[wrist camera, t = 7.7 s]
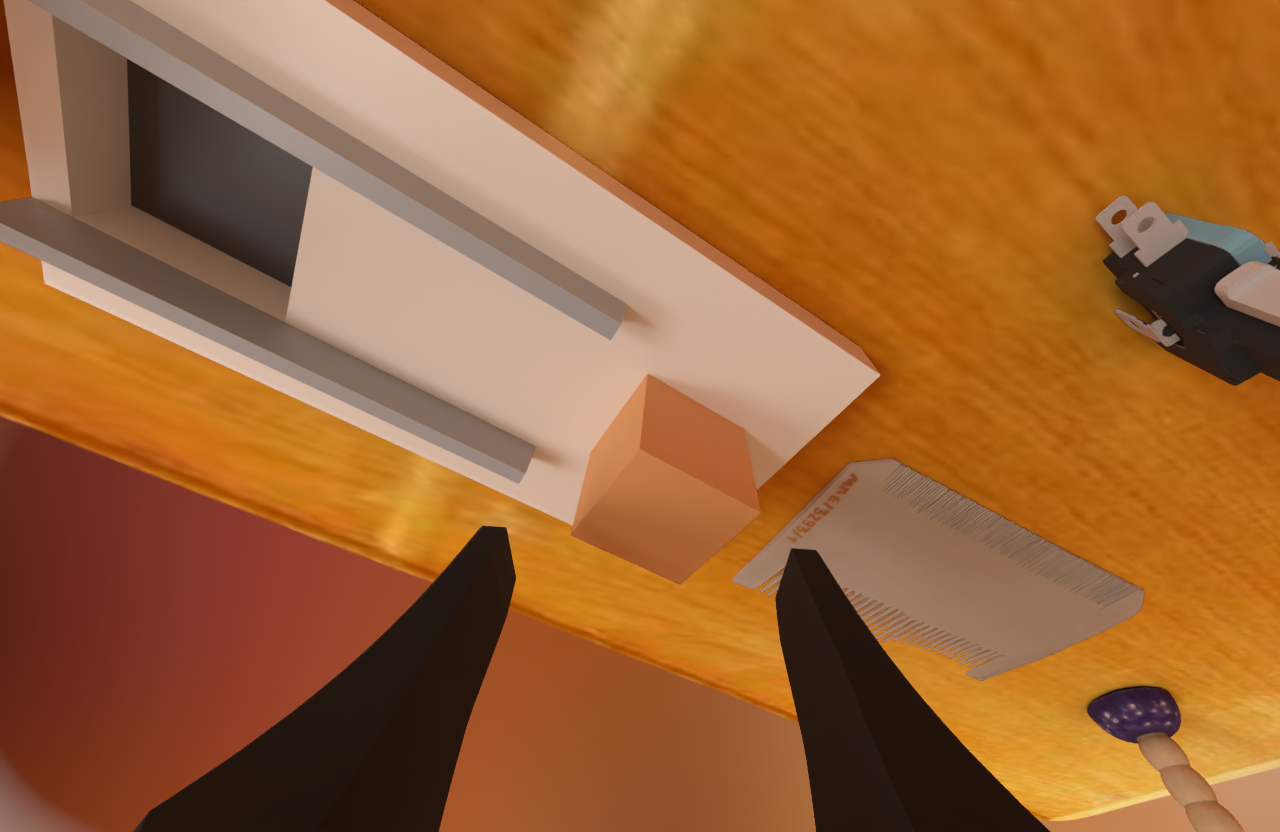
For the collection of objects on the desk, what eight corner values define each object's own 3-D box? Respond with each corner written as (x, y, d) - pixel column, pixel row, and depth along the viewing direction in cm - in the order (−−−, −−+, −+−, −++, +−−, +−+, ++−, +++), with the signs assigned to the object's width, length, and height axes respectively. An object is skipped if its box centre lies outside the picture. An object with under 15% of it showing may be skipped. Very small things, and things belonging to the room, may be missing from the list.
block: (590, 452, 17) (570, 535, 14) (647, 373, 15) (639, 448, 12) (679, 497, 18) (680, 584, 15) (744, 429, 16) (761, 512, 13)
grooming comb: (726, 573, 25) (727, 586, 24) (864, 438, 19) (870, 450, 19) (981, 676, 29) (988, 689, 28) (1154, 588, 23) (1167, 601, 23)
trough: (107, 264, 17) (-13, 300, 14) (78, -188, 11) (-145, -294, 8) (670, 536, 23) (670, 600, 20) (860, 347, 17) (898, 400, 14)
